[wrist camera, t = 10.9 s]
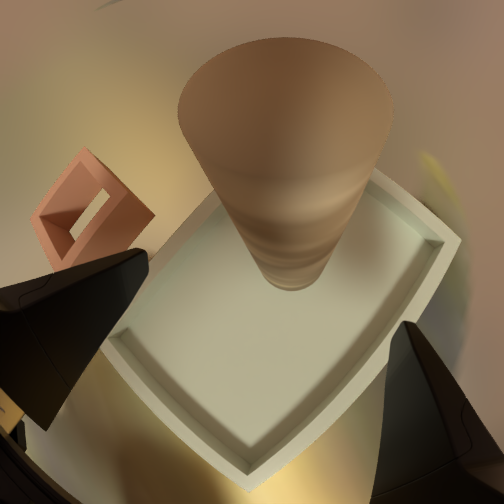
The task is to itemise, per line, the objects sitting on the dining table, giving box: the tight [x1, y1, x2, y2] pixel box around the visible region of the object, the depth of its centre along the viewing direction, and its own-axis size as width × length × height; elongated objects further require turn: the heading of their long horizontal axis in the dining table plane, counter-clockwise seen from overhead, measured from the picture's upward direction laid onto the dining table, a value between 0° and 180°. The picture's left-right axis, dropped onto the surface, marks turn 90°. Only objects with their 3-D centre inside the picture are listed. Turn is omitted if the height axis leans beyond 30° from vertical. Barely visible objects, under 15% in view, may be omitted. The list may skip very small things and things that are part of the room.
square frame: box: [30, 147, 155, 272], centre depth 18 cm, size 8×8×4 cm
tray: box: [100, 167, 461, 492], centre depth 16 cm, size 20×14×2 cm
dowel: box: [178, 37, 394, 291], centre depth 10 cm, size 4×4×12 cm
